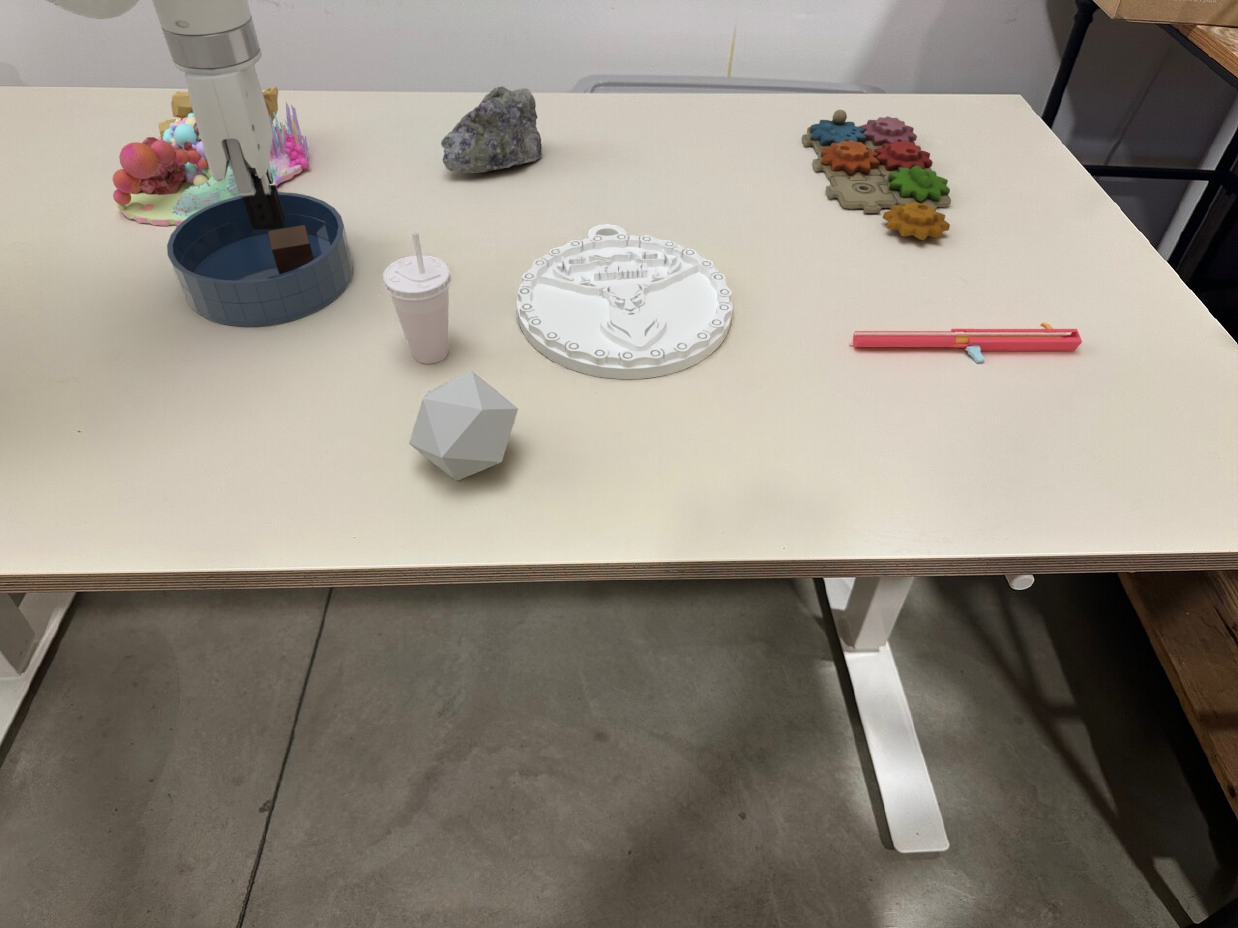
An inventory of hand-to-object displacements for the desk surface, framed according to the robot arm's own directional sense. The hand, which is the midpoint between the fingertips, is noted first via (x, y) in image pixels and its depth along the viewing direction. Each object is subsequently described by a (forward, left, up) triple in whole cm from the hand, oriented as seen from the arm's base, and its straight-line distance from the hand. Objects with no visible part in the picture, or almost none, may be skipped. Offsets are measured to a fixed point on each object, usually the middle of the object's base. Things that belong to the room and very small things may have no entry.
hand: (269, 224), depth 90 cm
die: (+12, -32, -8) cm, 35 cm away
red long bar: (+65, -34, -8) cm, 74 cm away
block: (+1, +3, -8) cm, 8 cm away
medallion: (+34, -14, -8) cm, 38 cm away
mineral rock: (+29, +21, -8) cm, 37 cm away
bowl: (-2, +3, -8) cm, 9 cm away
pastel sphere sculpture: (-6, +29, -8) cm, 31 cm away
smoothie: (+12, -16, -8) cm, 22 cm away
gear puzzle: (+76, -1, -8) cm, 77 cm away
